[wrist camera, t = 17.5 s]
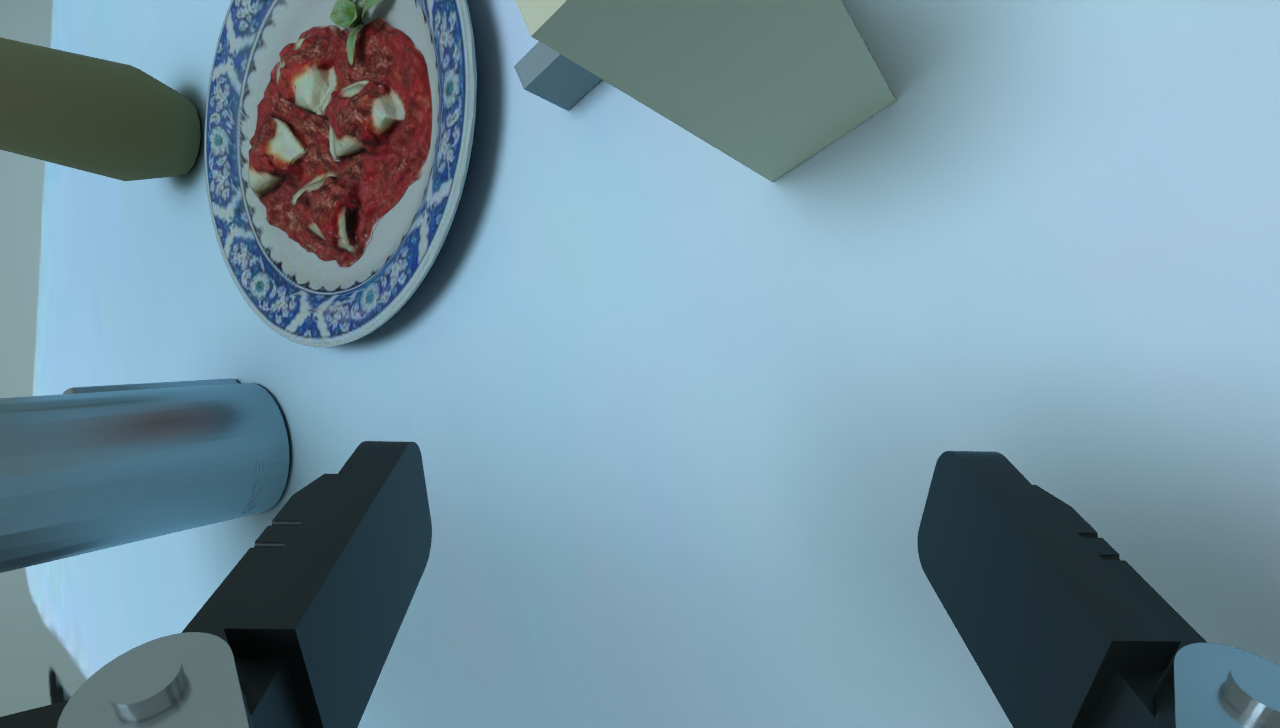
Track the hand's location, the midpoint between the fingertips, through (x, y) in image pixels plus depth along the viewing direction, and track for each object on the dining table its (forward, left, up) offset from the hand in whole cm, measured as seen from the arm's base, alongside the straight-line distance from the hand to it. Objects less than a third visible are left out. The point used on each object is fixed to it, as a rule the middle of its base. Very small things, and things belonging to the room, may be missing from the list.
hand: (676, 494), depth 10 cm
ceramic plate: (-34, -2, -16) cm, 38 cm away
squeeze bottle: (-53, -9, -15) cm, 56 cm away
